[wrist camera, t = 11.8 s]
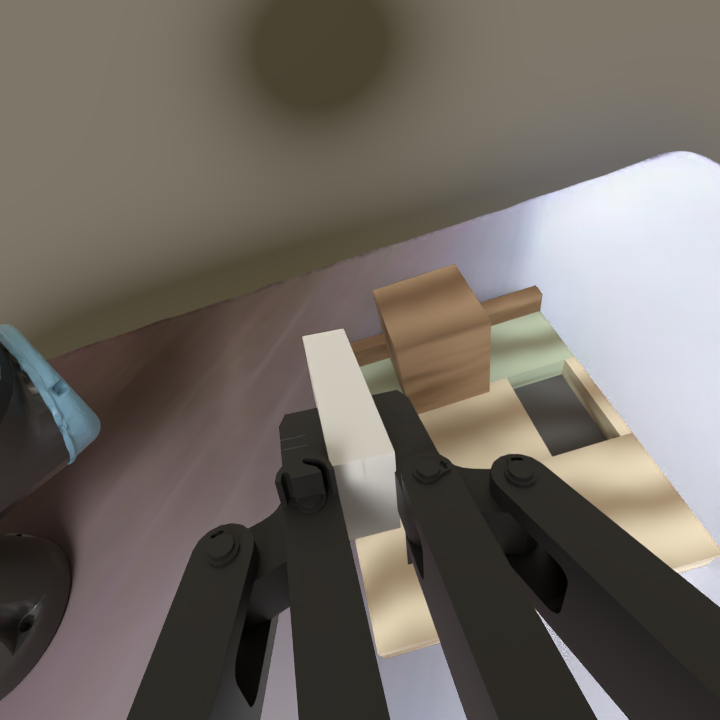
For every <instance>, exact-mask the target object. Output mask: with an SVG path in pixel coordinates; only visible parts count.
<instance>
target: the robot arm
mask: <svg viewBox="0 0 720 720" xmlns="http://www.w3.org/2000/svg"><path fill="white" fill-rule="evenodd" d="M302 337H303V342H304V347H305V352H306V357H307V362H308V367H309V373H310V378H311V383H312V388H313V393H314V398H315V403H316V407H317V408H314V409H310V410H305V411H300V412H296V413H291V414H286V415H285V416H284V418H283V420H282V422H281V424H280V426H279V431H280V441H281V442H280V443H281V455H282V467H281V469H280V470H279V471H278V473H277V475H276V480H275V484H276V488H277V491H278V495H279V498H280V501H281V504H280V505H279V507H278V508H277V510H276V511H275V512H274V513H273V514H272V515H271V516H269V517H268V518H266V519H265V520H263V521H261V522H260V523H258V524H256V525H254V526H252V527H250V528H249V529H248V528H246V527H245V526H243V525H240V524H233V523H231V524H226V525H221V526H219V527H217V528H215V529H213V530H211V531H209V532H208V533H207V534H206V535H205V536H203V537H202V538H201V539H200V540H199V541H198V543H197V545H196V546H195V548H194V550H193V552H192V554H191V557H190V559H189V562H188V564H187V567H186V569H185V572H184V574H183V577H182V580H181V582H180V585H179V587H178V590H177V592H176V595H175V597H174V600H173V602H172V605H171V608H170V610H169V613H168V615H167V618H166V620H165V623H164V625H163V628H162V630H161V633H160V636H159V638H158V641H157V643H156V646H155V648H154V651H153V653H152V656H151V659H150V661H149V664H148V666H147V669H146V671H145V674H144V676H143V679H142V681H141V684H140V687H139V689H138V692H137V694H136V697H135V699H134V702H133V704H132V707H131V709H130V712H129V715H128V717H127V720H260V718H261V712H262V707H263V701H264V695H265V690H266V684H267V679H268V673H269V667H270V662H271V656H272V650H273V645H274V639H275V633H276V628H277V622H278V617H279V613H281V612H282V611H284V610H285V609H287V608H288V607H290V612H291V625H292V638H293V651H294V663H295V676H296V689H297V702H298V715H299V720H390V717H389V712H388V708H387V703H386V699H385V695H384V690H383V686H382V681H381V677H380V673H379V668H378V664H377V660H376V655H375V651H374V646H373V642H372V638H371V633H370V629H369V624H368V620H367V616H366V611H365V607H364V602H363V598H362V594H361V589H360V585H359V580H358V576H357V572H356V567H355V563H354V559H353V554H352V550H351V545H350V541H351V540H355V539H359V538H362V537H366V536H370V535H374V534H378V533H382V532H386V531H390V530H393V529H397V528H401V525H400V519H401V521H402V524H403V527H404V530H405V535H406V549H407V560H408V565H409V564H412V563H413V566H414V569H415V572H416V575H417V577H418V580H419V583H420V586H421V589H422V592H423V595H424V597H425V600H426V603H427V606H428V609H429V612H430V615H431V617H432V620H433V623H434V626H435V629H436V632H437V635H438V637H439V640H440V643H441V646H442V649H443V652H444V655H445V658H446V660H447V663H448V666H449V669H450V672H451V675H452V678H453V680H454V683H455V686H456V689H457V692H458V695H459V698H460V700H461V703H462V706H463V709H464V712H465V715H466V718H467V720H597V718H596V716H595V714H594V713H593V711H592V709H591V707H590V705H589V704H588V702H587V700H586V698H585V697H584V695H583V693H582V691H581V689H580V688H579V686H578V684H577V682H576V681H575V679H574V677H573V675H572V673H571V672H570V670H569V668H568V666H567V665H566V663H565V661H564V659H563V658H562V656H561V654H560V652H559V650H558V649H557V647H556V645H555V643H554V642H553V640H552V638H551V636H550V634H549V633H548V631H547V629H546V627H545V626H544V624H543V622H542V620H541V618H540V617H539V615H538V613H539V614H540V615H541V616H542V617H543V618H544V620H545V621H546V622H547V623H548V624H549V626H550V627H551V628H552V629H553V630H554V631H555V633H556V634H557V635H558V636H559V637H560V639H561V640H562V641H563V642H564V643H565V644H566V646H567V647H568V648H569V649H570V650H571V652H572V653H573V654H574V655H575V656H576V657H577V659H578V660H579V661H580V662H581V663H582V664H583V666H584V667H585V668H586V669H587V670H588V672H589V673H590V674H591V675H592V676H593V677H594V679H595V680H596V681H597V682H598V683H599V685H600V686H601V687H602V688H603V689H604V690H605V692H606V693H607V694H608V695H609V696H610V698H611V699H612V700H613V701H614V702H615V703H616V705H617V706H618V707H619V708H620V709H621V710H622V712H623V713H624V714H625V715H626V716H627V718H628V719H629V720H720V607H719V606H718V605H716V604H715V603H714V602H713V601H711V600H710V599H709V598H708V597H706V596H705V595H704V594H703V593H701V592H700V591H699V590H698V589H697V588H695V587H694V586H693V585H692V584H690V583H689V582H688V581H687V580H685V579H684V578H683V577H682V576H680V575H679V574H678V573H677V572H676V571H674V570H673V569H672V568H671V567H669V566H668V565H667V564H666V563H664V562H663V561H662V560H661V559H660V558H658V557H657V556H656V555H655V554H653V553H652V552H651V551H650V550H648V549H647V548H646V547H645V546H643V545H642V544H641V543H640V542H639V541H637V540H636V539H635V538H634V537H632V536H631V535H630V534H629V533H627V532H626V531H625V530H624V529H622V528H621V527H620V526H619V525H618V524H616V523H615V522H614V521H613V520H611V519H610V518H609V517H608V516H606V515H605V514H604V513H603V512H602V511H600V510H599V509H598V508H597V507H595V506H594V505H593V504H592V503H590V502H589V501H588V500H587V499H585V498H584V497H583V496H582V495H581V494H579V493H578V492H577V491H576V490H574V489H573V488H572V487H571V486H569V485H568V484H567V483H566V482H564V481H563V480H562V479H561V478H560V477H558V476H557V475H556V474H555V473H553V472H552V471H551V470H550V469H548V468H547V467H546V466H545V465H543V464H542V463H541V462H539V461H537V460H536V459H534V458H532V457H529V456H526V455H522V454H507V455H504V456H500V457H499V458H498V459H496V460H495V461H494V462H493V464H492V466H491V469H472V468H463V467H459V466H456V465H454V464H452V462H451V461H450V460H449V459H448V458H446V457H444V456H442V455H440V454H439V452H438V451H437V449H436V447H435V445H434V443H433V441H432V440H431V438H430V436H429V434H428V432H427V430H426V429H425V427H424V425H423V423H422V421H421V420H420V418H419V416H418V414H417V412H416V411H415V408H414V407H413V405H412V403H411V401H410V399H409V398H408V397H407V396H406V395H404V394H403V393H401V392H400V391H398V390H393V391H388V392H384V393H379V394H374V395H371V394H370V391H369V389H368V386H367V384H366V382H365V379H364V377H363V374H362V372H361V370H360V367H359V365H358V362H357V360H356V358H355V355H354V353H353V350H352V348H351V346H350V343H349V341H348V338H347V336H346V334H345V331H344V329H338V330H333V331H328V332H323V333H318V334H312V335H307V336H302ZM100 428H101V423H100V420H99V418H98V417H97V415H96V414H95V413H94V412H93V411H92V410H91V408H90V407H89V406H88V405H87V404H86V403H85V402H84V401H83V400H82V399H81V398H80V397H79V395H78V394H77V393H76V392H75V391H74V390H73V389H72V388H71V387H70V386H69V385H68V384H67V382H66V381H65V380H64V379H63V378H62V377H61V376H60V375H59V374H58V373H57V372H56V371H55V370H54V368H53V367H52V366H51V365H50V364H49V363H48V362H47V361H46V360H45V359H44V358H43V357H42V356H41V355H40V354H39V352H38V351H37V350H36V349H35V348H34V347H33V346H32V345H31V344H30V343H29V342H28V341H27V339H25V337H24V336H23V335H22V334H21V333H20V332H19V331H18V330H17V329H16V328H15V327H13V326H11V325H0V519H1V518H2V517H4V516H5V515H6V514H7V513H8V512H10V511H11V510H12V509H13V508H14V507H16V506H17V505H18V504H19V503H21V502H22V501H23V500H24V499H26V498H27V497H28V496H29V495H31V494H32V493H33V492H34V491H35V490H37V489H38V488H39V487H40V486H42V485H43V484H44V483H45V482H47V481H48V480H49V479H50V478H52V477H53V476H54V475H55V474H57V473H58V472H59V471H60V470H62V469H63V468H64V467H65V466H67V465H70V464H71V463H73V462H74V461H75V459H76V456H77V455H78V454H79V453H81V452H82V451H83V450H84V449H85V448H86V447H87V446H88V445H89V444H90V443H92V442H93V441H94V440H95V439H96V438H97V436H98V434H99V432H100ZM69 589H70V567H69V563H68V559H67V557H66V555H65V553H64V552H63V550H62V549H61V548H60V547H59V546H58V545H57V544H55V543H53V542H51V541H49V540H46V539H44V538H41V537H39V536H36V535H33V534H27V533H10V534H4V535H0V700H1V699H3V698H4V697H5V696H6V695H7V694H8V693H10V692H11V691H12V690H13V689H14V688H15V687H16V686H17V685H18V684H19V683H20V682H21V681H22V680H23V678H24V677H25V676H26V675H27V674H28V673H29V672H30V670H31V669H32V668H33V667H34V665H35V664H36V663H37V661H38V660H39V658H40V657H41V656H42V654H43V653H44V651H45V650H46V648H47V646H48V645H49V643H50V641H51V640H52V638H53V636H54V634H55V632H56V630H57V628H58V626H59V623H60V621H61V619H62V616H63V613H64V610H65V607H66V604H67V600H68V595H69ZM535 609H536V610H537V611H538V613H537V611H536V610H535Z"/></svg>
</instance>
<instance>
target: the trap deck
mask: <svg viewBox="0 0 720 720" xmlns="http://www.w3.org/2000/svg"><path fill="white" fill-rule="evenodd" d="M541 300H542V293H541V292H540V290H539V289H538V288H537V287H536V285H535V286H532V287H529V288H526V289H523V290H519V291H516V292H513V293H510V294H507V295H504V296H500V297H497V298H494V299H491V300H488V301H484V302H481V303H480V304H481V306H482V307H483V309H484V311H485V312H486V314H487V315H488V317H489V318H490V320H491V346H490V391H489V392H488V393H484V394H481V395H478V396H475V397H472V398H469V399H465V400H462V401H459V402H456V403H453V404H450V405H446V406H443V407H440V408H437V409H434V410H431V411H427V412H424V413H421V414H418V416H419V418H420V420H421V421H422V423H423V425H424V427H425V429H426V430H427V432H428V434H429V436H430V438H431V440H432V441H433V443H434V445H435V447H436V449H437V451H438V452H439V454H440V455H442V456H444V457H446V458H448V459H449V460H450V461H451V462H452V464H454V465H456V466H459V467H463V468H472V469H491V466H492V464H493V462H494V461H495V460H496V459H498V458H499V457H500V456H504V455H507V454H522V455H526V456H529V457H532V458H534V459H536V460H537V461H539V462H541V463H542V464H543V465H545V466H546V467H547V468H548V469H550V470H551V471H552V472H553V473H555V474H556V475H557V476H558V477H560V478H561V479H562V480H563V481H564V482H566V483H567V484H568V485H569V486H571V487H572V488H573V489H574V490H576V491H577V492H578V493H579V494H581V495H582V496H583V497H584V498H585V499H587V500H588V501H589V502H590V503H592V504H593V505H594V506H595V507H597V508H598V509H599V510H600V511H602V512H603V513H604V514H605V515H606V516H608V517H609V518H610V519H611V520H613V521H614V522H615V523H616V524H618V525H619V526H620V527H621V528H622V529H624V530H625V531H626V532H627V533H629V534H630V535H631V536H632V537H634V538H635V539H636V540H637V541H639V542H640V543H641V544H642V545H643V546H645V547H646V548H647V549H648V550H650V551H651V552H652V553H653V554H655V555H656V556H657V557H658V558H660V559H661V560H662V561H663V562H664V563H666V564H667V565H668V566H669V567H671V568H672V569H673V570H674V571H676V572H677V573H681V572H684V571H688V570H691V569H694V568H698V567H701V566H705V565H707V564H709V563H710V562H712V561H713V560H715V559H716V558H718V557H719V556H720V548H719V546H718V545H717V544H716V542H715V541H714V540H713V539H712V537H711V536H710V535H709V533H708V532H707V531H706V529H705V528H704V527H703V525H702V524H701V523H700V521H699V520H698V519H697V517H696V516H695V515H694V513H693V512H692V511H691V510H690V508H689V507H688V506H687V504H686V503H685V502H684V500H683V499H682V498H681V496H680V495H679V494H678V492H677V491H676V490H675V488H674V487H673V486H672V484H671V483H670V482H669V480H668V479H667V478H666V477H665V475H664V474H663V473H662V471H661V470H660V469H659V467H658V466H657V465H656V463H655V462H654V461H653V459H652V458H651V457H650V455H649V454H648V453H647V451H646V450H645V449H644V448H643V446H642V445H641V444H640V442H639V441H638V440H637V438H636V437H635V436H634V434H633V433H632V432H631V430H630V429H629V428H628V426H627V425H626V424H625V422H624V421H623V420H622V418H621V417H620V416H619V415H618V413H617V412H616V411H615V409H614V408H613V407H612V405H611V404H610V403H609V401H608V400H607V399H606V397H605V396H604V395H603V393H602V392H601V391H600V389H599V388H598V387H597V386H596V384H595V383H594V382H593V380H592V379H591V378H590V376H589V375H588V374H587V372H586V371H585V370H584V368H583V367H582V366H581V364H580V363H579V362H578V360H577V359H576V358H575V356H574V355H573V354H572V353H571V351H570V350H569V349H568V347H567V346H566V345H565V343H564V342H563V341H562V339H561V338H560V337H559V335H558V334H557V333H556V331H555V330H554V329H553V327H552V326H551V325H550V324H549V322H548V321H547V320H546V318H545V317H544V316H543V314H542V313H541V312H540V307H541ZM350 346H351V348H352V350H353V353H354V355H355V358H356V360H357V362H358V365H359V367H360V370H361V372H362V374H363V377H364V379H365V382H366V384H367V386H368V389H369V391H370V394H371V395H374V394H379V393H384V392H388V391H393V390H398V391H400V392H401V393H403V392H402V390H401V387H400V384H399V381H398V379H397V376H396V373H395V370H394V368H393V365H392V362H391V360H390V356H389V352H388V349H387V345H386V341H385V337H384V333H382V334H379V335H376V336H373V337H370V338H366V339H363V340H360V341H357V342H354V343H351V344H350ZM400 525H401V528H397V529H393V530H390V531H386V532H382V533H378V534H374V535H370V536H366V537H362V538H359V539H355V542H356V547H357V552H358V557H359V562H360V567H361V572H362V577H363V582H364V587H365V592H366V597H367V602H368V607H369V612H370V618H371V623H372V628H373V633H374V638H375V643H376V648H377V653H378V655H379V656H381V657H383V658H385V659H386V658H390V657H393V656H396V655H400V654H403V653H407V652H410V651H414V650H417V649H420V648H424V647H427V646H431V645H434V644H438V643H440V640H439V637H438V635H437V632H436V629H435V626H434V623H433V620H432V617H431V615H430V612H429V609H428V606H427V603H426V600H425V597H424V595H423V592H422V589H421V586H420V583H419V580H418V577H417V575H416V572H415V569H414V566H413V563H412V564H409V565H408V560H407V549H406V535H405V530H404V527H403V524H402V521H401V519H400ZM535 610H536V609H535ZM536 611H537V610H536ZM537 613H538V611H537ZM538 614H539V613H538Z"/></svg>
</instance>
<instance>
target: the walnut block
mask: <svg viewBox="0 0 720 720" xmlns="http://www.w3.org/2000/svg"><path fill="white" fill-rule="evenodd" d="M373 295H374V299H375V302H376V306H377V310H378V314H379V318H380V322H381V325H382V329H383V333H384V337H385V341H386V345H387V349H388V352H389V356H390V360H391V362H392V365H393V368H394V370H395V373H396V376H397V379H398V381H399V384H400V387H401V390H402V392H403V394H404V395H406V396H407V397H408V398H409V399H410V401H411V403H412V405H413V407H414V408H415V411H416V412H417V414H421V413H424V412H427V411H431V410H434V409H437V408H440V407H443V406H446V405H450V404H453V403H456V402H459V401H462V400H465V399H469V398H472V397H475V396H478V395H481V394H484V393H488V392H489V391H490V346H491V320H490V318H489V317H488V315H487V314H486V312H485V311H484V309H483V307H482V306H481V304H480V303H479V301H478V300H477V298H476V296H475V295H474V293H473V292H472V290H471V289H470V287H469V286H468V284H467V282H466V281H465V279H464V278H463V276H462V275H461V273H460V271H459V270H458V268H457V267H456V265H455V264H453V265H450V266H447V267H444V268H441V269H438V270H435V271H432V272H429V273H426V274H422V275H419V276H416V277H413V278H410V279H407V280H404V281H401V282H398V283H395V284H391V285H388V286H385V287H382V288H379V289H376V290H373Z"/></svg>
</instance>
